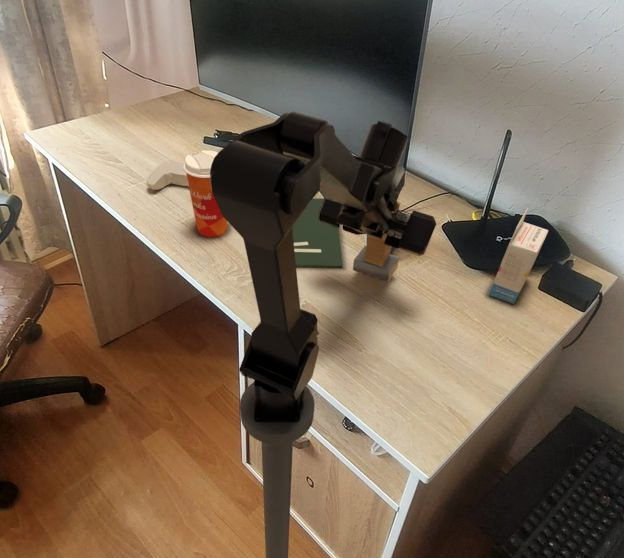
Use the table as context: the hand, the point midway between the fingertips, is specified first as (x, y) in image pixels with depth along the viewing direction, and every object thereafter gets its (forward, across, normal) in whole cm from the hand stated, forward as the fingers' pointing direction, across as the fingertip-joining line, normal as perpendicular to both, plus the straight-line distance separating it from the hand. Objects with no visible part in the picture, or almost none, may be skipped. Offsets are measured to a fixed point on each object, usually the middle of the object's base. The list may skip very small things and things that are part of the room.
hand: (383, 232), depth 93 cm
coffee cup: (+4, +35, +10) cm, 36 cm away
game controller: (+11, +50, +3) cm, 51 cm away
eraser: (+4, 0, +6) cm, 7 cm away
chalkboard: (+10, +19, +3) cm, 22 cm away
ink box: (+13, -23, 0) cm, 27 cm away
